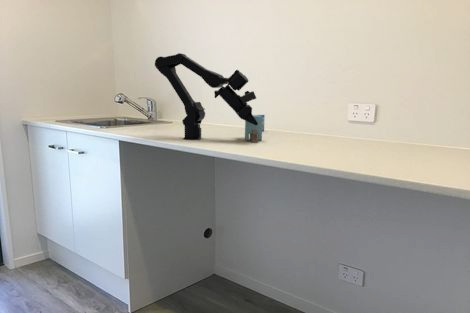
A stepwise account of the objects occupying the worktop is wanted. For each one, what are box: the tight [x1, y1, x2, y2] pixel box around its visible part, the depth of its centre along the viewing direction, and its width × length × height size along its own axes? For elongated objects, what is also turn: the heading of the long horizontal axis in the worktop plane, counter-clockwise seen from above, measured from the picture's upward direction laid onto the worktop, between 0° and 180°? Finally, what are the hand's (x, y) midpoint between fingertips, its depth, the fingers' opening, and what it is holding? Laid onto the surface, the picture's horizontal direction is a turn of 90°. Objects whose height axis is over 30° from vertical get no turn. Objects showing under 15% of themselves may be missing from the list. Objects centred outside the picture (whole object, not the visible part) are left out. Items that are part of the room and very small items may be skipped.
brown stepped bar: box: [249, 130, 258, 144], centre depth 160 cm, size 12×2×5 cm, turn 3°
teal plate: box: [244, 116, 263, 141], centre depth 160 cm, size 7×3×10 cm, turn 93°
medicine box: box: [252, 114, 266, 133], centre depth 190 cm, size 8×4×9 cm, turn 143°
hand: (256, 124), depth 160 cm, fingers closed on teal plate, 3 cm apart
